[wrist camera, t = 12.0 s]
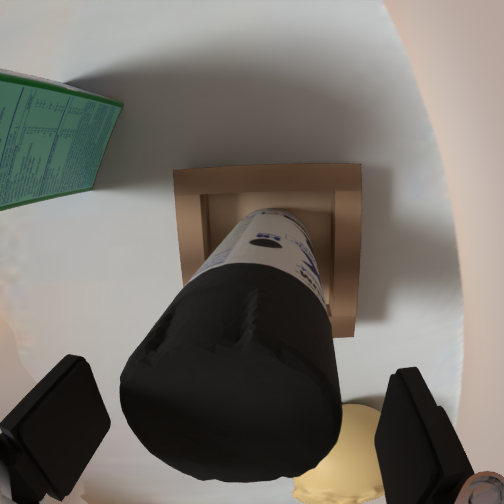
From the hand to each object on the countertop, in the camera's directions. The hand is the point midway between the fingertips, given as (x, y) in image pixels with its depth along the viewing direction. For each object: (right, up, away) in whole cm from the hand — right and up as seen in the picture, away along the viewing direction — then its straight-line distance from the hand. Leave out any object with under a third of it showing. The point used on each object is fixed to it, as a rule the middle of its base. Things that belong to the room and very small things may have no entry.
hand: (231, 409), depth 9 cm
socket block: (+2, +5, +19) cm, 20 cm away
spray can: (+2, +5, +18) cm, 19 cm away
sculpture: (+11, -16, +24) cm, 31 cm away
